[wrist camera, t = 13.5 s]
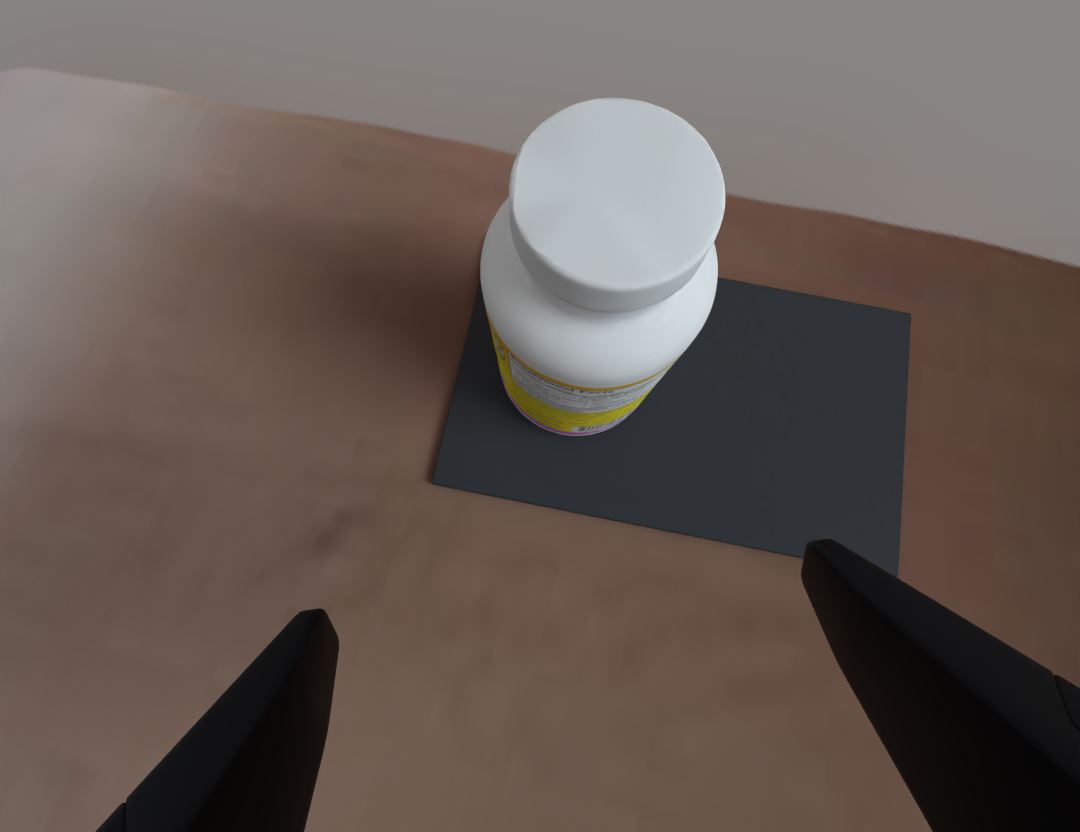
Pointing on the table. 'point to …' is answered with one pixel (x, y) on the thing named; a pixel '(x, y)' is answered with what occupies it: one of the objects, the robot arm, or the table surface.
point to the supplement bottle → (601, 261)
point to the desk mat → (718, 431)
